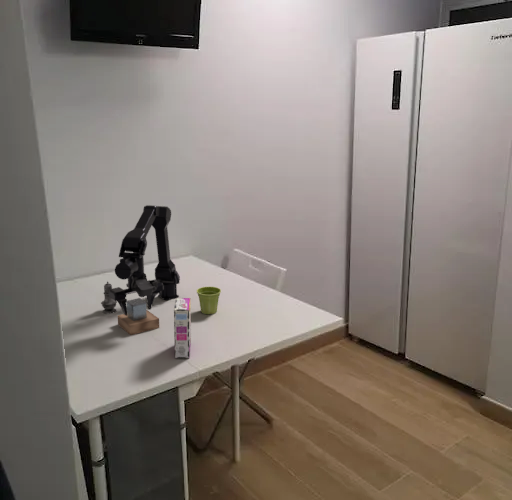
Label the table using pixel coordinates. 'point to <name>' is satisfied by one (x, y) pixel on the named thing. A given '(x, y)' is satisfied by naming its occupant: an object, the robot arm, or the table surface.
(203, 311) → the plant pot
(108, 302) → the dark grey tall piece
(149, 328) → the walnut block
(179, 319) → the candy bar box
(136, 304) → the slate tin
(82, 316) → the table surface
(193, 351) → the table surface
